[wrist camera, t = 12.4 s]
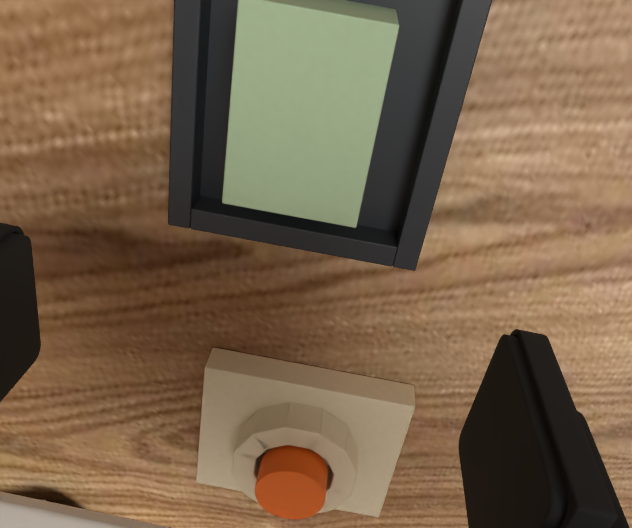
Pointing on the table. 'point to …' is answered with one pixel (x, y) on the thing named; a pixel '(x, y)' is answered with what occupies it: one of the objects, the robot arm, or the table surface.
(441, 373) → the table surface
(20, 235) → the robot arm
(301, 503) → the button
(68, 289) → the table surface
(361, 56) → the sage green block
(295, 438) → the beige button base
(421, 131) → the dock
